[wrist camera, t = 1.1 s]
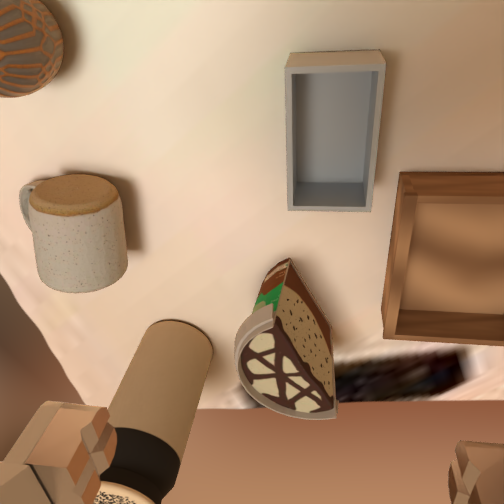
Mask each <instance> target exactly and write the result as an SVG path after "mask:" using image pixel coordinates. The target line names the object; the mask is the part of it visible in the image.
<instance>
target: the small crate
mask: <svg viewBox="0 0 504 504" xmlns="http://www.w3.org/2000/svg"><path fill="white" fill-rule="evenodd" d="M385 72H386V62H385V60H384V58H383V56H382V54H381V51H380V49H378V50H353V51H328V52H303V53H290V56H289V58H288V61H287V63H286V66H285V99H286V151H287V203H288V211H338V212H371V208H372V198H373V188H374V178H375V169H376V159H377V149H378V140H379V130H380V120H381V111H382V101H383V91H384V82H385Z"/></svg>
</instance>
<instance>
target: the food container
mask: <svg viewBox="0 0 504 504" xmlns="http://www.w3.org/2000/svg"><path fill="white" fill-rule="evenodd" d="M235 366H236V370H237V373H238V377H239V379H240V381H241V383H242V385H243V387H244V388H245V390H246V391H247V392H248V393H249V394H250V395H251V396H252V397H253V398H254V399H255V400H257V401H258V402H259V403H261V404H262V405H264V406H265V407H267V408H269V409H271V410H273V411H275V412H278V413H281V414H284V415H287V416H291V417H295V418H302V419H311V420H322V419H332V418H336V413H338V403H339V401H338V400H336V395H335V377H334V360H333V342H332V326H331V325H330V323H329V321H328V320H327V318H326V316H325V315H324V313H323V312H322V310H321V308H320V307H319V305H318V303H317V302H316V300H315V298H314V297H313V295H312V294H311V292H310V290H309V289H308V287H307V285H306V284H305V282H304V280H303V279H302V277H301V276H300V274H299V272H298V271H297V269H296V267H295V266H294V264H293V263H292V261H291V259H290V258H288V259H286V260H283V261H281V262H279V263H278V264H277V265H276V266H275V267H273V268H272V269H271V270H270V271H269V272H268V274H267V275H266V277H265V279H264V281H263V283H262V286H261V289H260V292H259V294H258V297H257V300H256V303H255V306H254V309H253V312H252V314H251V315H250V316H249V317H248V318H247V319H246V320H245V321H244V322H243V324H242V325H241V326H240V328H239V330H238V332H237V334H236V338H235Z"/></svg>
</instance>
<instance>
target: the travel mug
mask: <svg viewBox="0 0 504 504" xmlns="http://www.w3.org/2000/svg"><path fill="white" fill-rule="evenodd" d="M212 355H213V350H212V346H211V344H210V342H209V340H208V339H207V337H206V336H205V335H204V334H203V333H201V332H200V331H199V330H197V329H196V328H194V327H192V326H190V325H188V324H185V323H181V322H176V321H163V322H159V323H156V324H154V325H152V326H150V327H149V328H148V329H147V330H146V332H145V334H144V336H143V338H142V340H141V342H140V344H139V346H138V348H137V351H136V353H135V355H134V357H133V359H132V361H131V363H130V365H129V367H128V369H127V371H126V373H125V375H124V377H123V379H122V381H121V383H120V386H119V388H118V390H117V392H116V394H115V396H114V398H113V400H112V402H111V404H110V406H109V408H108V412H109V414H110V417H109V419H108V421H107V422H108V423H110V424H111V425H112V426H113V427H114V428H115V431H116V434H117V445H116V450H115V455H114V457H113V460H112V462H111V464H110V467H109V468H107V469H106V470H105V471H104V472H102V473H101V474H100V480H101V487H100V489H99V491H98V493H97V496H96V498H95V500H94V502H93V504H161V500H162V499H163V498H164V497H165V496H166V494H167V493H168V492H169V491H170V490H171V489H172V488H173V487H174V484H175V481H176V478H177V474H178V471H179V468H180V464H181V461H182V458H183V454H184V451H185V447H186V444H187V441H188V437H189V434H190V430H191V427H192V424H193V420H194V417H195V413H196V410H197V406H198V403H199V400H200V396H201V393H202V389H203V386H204V383H205V379H206V376H207V372H208V369H209V366H210V362H211V359H212Z"/></svg>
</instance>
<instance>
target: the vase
mask: <svg viewBox="0 0 504 504" xmlns="http://www.w3.org/2000/svg"><path fill="white" fill-rule="evenodd" d="M63 52H64V46H63V39H62V34H61V31H60V28H59V26H58V24H57V22H56V20H55V18H54V17H53V15H52V14H51V12H50V11H49V10H48V9H47V7H46V6H45V5H44V4H43V3H42V2H40V1H39V0H0V97H4V98H13V97H21V96H26V95H29V94H32V93H34V92H36V91H38V90H40V89H41V88H43V87H44V86H46V85H47V84H48V83H49V82H50V81H51V80H52V79H53V78H54V77H55V75H56V74H57V72H58V70H59V68H60V66H61V63H62V59H63Z"/></svg>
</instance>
